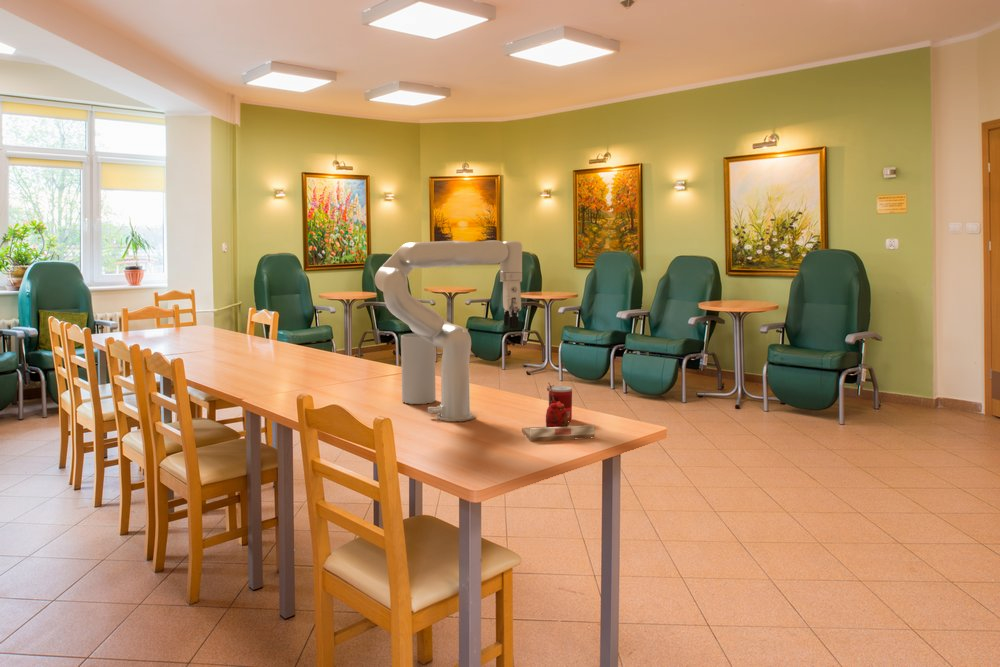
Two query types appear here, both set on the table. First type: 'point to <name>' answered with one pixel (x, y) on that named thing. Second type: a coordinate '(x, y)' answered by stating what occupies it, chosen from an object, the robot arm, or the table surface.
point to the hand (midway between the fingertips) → (510, 326)
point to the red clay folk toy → (556, 414)
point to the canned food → (562, 398)
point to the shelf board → (559, 432)
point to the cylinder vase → (417, 370)
